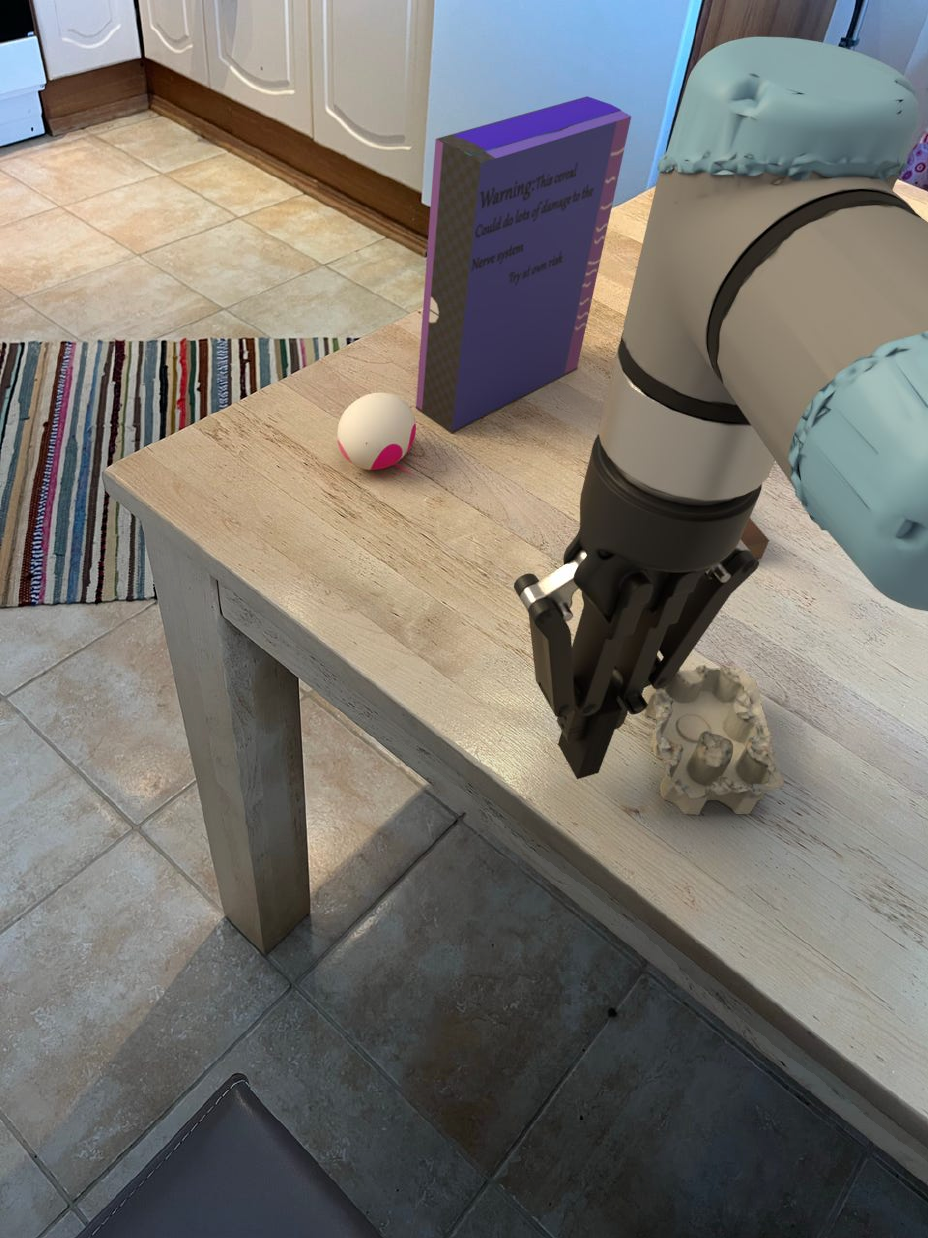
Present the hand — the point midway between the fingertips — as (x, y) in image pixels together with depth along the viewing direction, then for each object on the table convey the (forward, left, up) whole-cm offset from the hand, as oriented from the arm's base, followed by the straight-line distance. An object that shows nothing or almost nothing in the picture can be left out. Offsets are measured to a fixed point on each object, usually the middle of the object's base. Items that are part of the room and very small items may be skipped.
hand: (578, 758), depth 58 cm
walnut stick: (+25, -24, -4) cm, 35 cm away
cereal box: (+43, -14, -4) cm, 45 cm away
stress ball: (+35, +1, -4) cm, 35 cm away
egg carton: (0, -10, -4) cm, 11 cm away
